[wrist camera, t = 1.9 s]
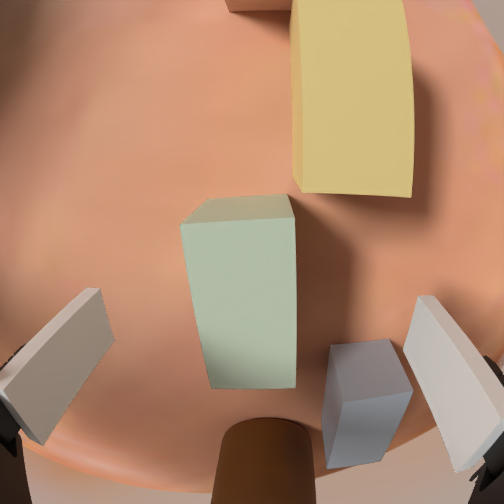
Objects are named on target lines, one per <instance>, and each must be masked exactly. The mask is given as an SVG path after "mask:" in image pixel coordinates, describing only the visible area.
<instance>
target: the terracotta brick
mask: <svg viewBox="0 0 504 504" xmlns="http://www.w3.org/2000/svg"><path fill="white" fill-rule="evenodd" d="M225 2H226V4H227V7H228V10H229V12H235V11H255V10H292V3H293V0H225Z"/></svg>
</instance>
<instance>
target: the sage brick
mask: <svg viewBox="0 0 504 504" xmlns="http://www.w3.org/2000/svg"><path fill="white" fill-rule="evenodd" d="M180 230H181V237H182V244H183V250H184V256H185V262H186V268H187V274H188V280H189V286H190V291H191V297H192V302H193V307H194V312H195V318H196V323H197V327H198V332H199V337H200V342H201V347H202V351H203V356H204V360H205V365H206V369H207V373H208V378H209V382H210V386H211V389H284V388H296V341H297V296H296V241H295V217H294V214H293V210H292V207H291V204H290V201H289V198H288V195H287V194H274V195H256V196H241V197H227V198H214V199H207V200H206V201H205V202H204V203H203V204H201V205H200V206H199V207H198V208H197V209H196V210H195V211H194V212H193V213H192V214H190V215H189V216H188V217H187V218H186V219H185V220H184V221H183V222H182V223H181V224H180Z"/></svg>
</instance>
